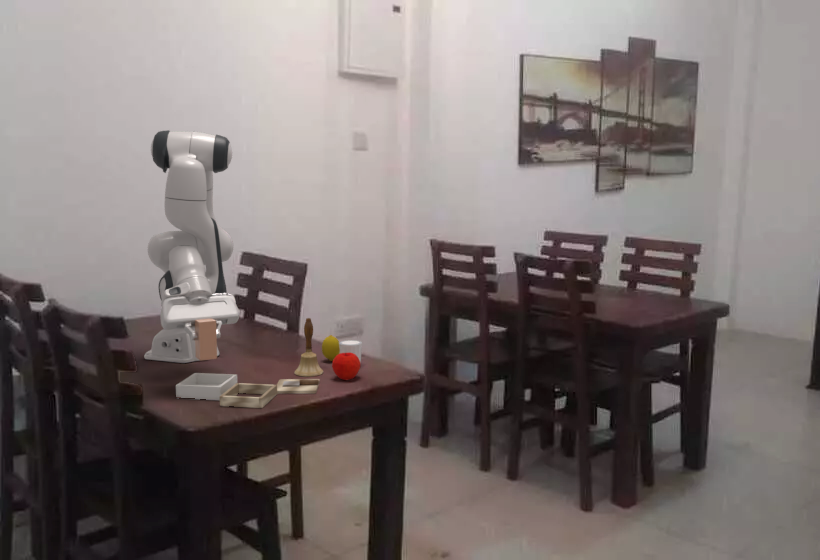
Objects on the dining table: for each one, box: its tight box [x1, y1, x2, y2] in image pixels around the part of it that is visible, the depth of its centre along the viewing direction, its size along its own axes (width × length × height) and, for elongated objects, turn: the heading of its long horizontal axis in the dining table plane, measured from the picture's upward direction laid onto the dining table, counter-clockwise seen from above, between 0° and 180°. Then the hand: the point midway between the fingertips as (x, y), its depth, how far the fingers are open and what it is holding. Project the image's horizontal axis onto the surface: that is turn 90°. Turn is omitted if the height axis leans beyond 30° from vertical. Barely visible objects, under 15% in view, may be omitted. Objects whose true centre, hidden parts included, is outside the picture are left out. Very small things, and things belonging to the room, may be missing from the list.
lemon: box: [321, 334, 340, 362], centre depth 252 cm, size 6×6×8 cm
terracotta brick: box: [195, 318, 218, 361], centre depth 217 cm, size 4×4×10 cm
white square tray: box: [175, 372, 238, 401], centre depth 219 cm, size 12×12×4 cm
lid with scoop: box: [276, 378, 321, 395], centre depth 224 cm, size 11×11×2 cm
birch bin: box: [219, 382, 278, 409], centre depth 213 cm, size 11×12×2 cm
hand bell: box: [294, 317, 324, 378], centre depth 238 cm, size 8×8×16 cm
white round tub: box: [339, 339, 363, 366], centre depth 247 cm, size 7×7×7 cm
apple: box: [331, 353, 361, 381], centre depth 233 cm, size 8×8×7 cm
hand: (206, 338), depth 216 cm, fingers closed on terracotta brick, 4 cm apart
